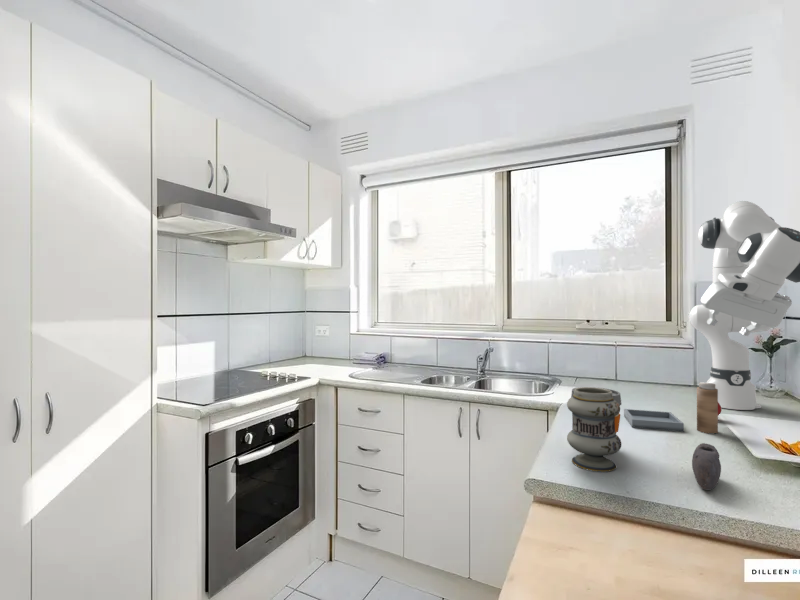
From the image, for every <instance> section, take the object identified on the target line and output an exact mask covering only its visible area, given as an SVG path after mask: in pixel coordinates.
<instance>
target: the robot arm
mask: <svg viewBox="0 0 800 600" xmlns="http://www.w3.org/2000/svg"><path fill="white" fill-rule="evenodd" d="M697 239H698V241H699V243H700V246H701V247H702V248H704V249H711V250H714V252H713V256H712V257H713V258H712V283H711V284H710V285H709V286H708V288H707V289H706V291H705V292H704V293H703V295H702V296H701V298H700V303H701V304H697V305H695V306H693V307H692V309H691V310H690V312H689V315H688V318H689V319H688V320H689V323H690V324H691V326H692V327H693V328H694V329H695V330H696V331H698V332H699V333H701V334H702V335H703V337H705V338H706V340H707V341H708V344H709V346H710V350H711V359H712V360H711V362H712V367H711V368H710V374H709V376H710V377H709V378H708V379H707V381H706V382H705V383H713V384H715V389H718V403H719V404H720V406H721V409H729V410H738V411H740V410H741V411H751V410H756V409H761V408H762V405H761V404H760V403H759V404H758V403H757V394H756V393H757V392H756V385H755V384H753V383H752V381H751V376H752V373H751V370H750V351H749V349H748V347H747V346H745V345H744V344H742V343H740V342H738V341H736V340H733V339H731V338H730V337H729V333H739V334H741V335H742V336H744V337H749V335H750V334H751V333H752V334H753V333H761V332H767V331H769V330H771V328H772V329H774V328H777V327H778V326H780V324H781V323H782V321H783V319H784V318H785V316H786V313H787V312H788V310H789V309H790V307H791V306H792V303H793V302H792V299H791V298H790V296H788V295H785V294H784V295H783V294H780V293H778V292H779V291H780V289H781V288H782V287H783V286H784V284H785V281H786V280H788V281H790V282H793V283H797V284H798V283H800V231H799V230H796V229H795V228H794V229H793V228H790V227H783V226H781V225H780V224H778V223H777V222H776V221H775V219H774V218H773V217H772V216H769V214H767V213H766V212H765V210H763V209H762V208H761V206H759V205H758V204H756V203H753V202H752V201H747V200H741V201H740V200H739V201H735V202H733V203H732V204H730V205H729V206H727V207H726V209H725V211H724V212H723V216H722V218H717V217H713V218H712V219H708V220H707V221H705V222H703V223H702V224H701V226H700V228H699V229H698V234H697Z"/></svg>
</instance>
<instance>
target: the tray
mask: <svg viewBox="0 0 800 600" xmlns="http://www.w3.org/2000/svg"><path fill="white" fill-rule="evenodd" d="M623 417H624V418H625V420H626V421H627V422H628V424H629V425H630V426H631V428H637V429H645V430H646V429H649V430H661V431H669V432H670V431H672V432H681V433H682V432H685V429H684V427H685V424H684V422H683V421H682V420H681V419H679V418H678V416H676V415H675V414H674V413H672V412H670V411H661V410H660V411H659V410H645V409H632V408H631V409H630V408H624V409H623Z"/></svg>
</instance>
